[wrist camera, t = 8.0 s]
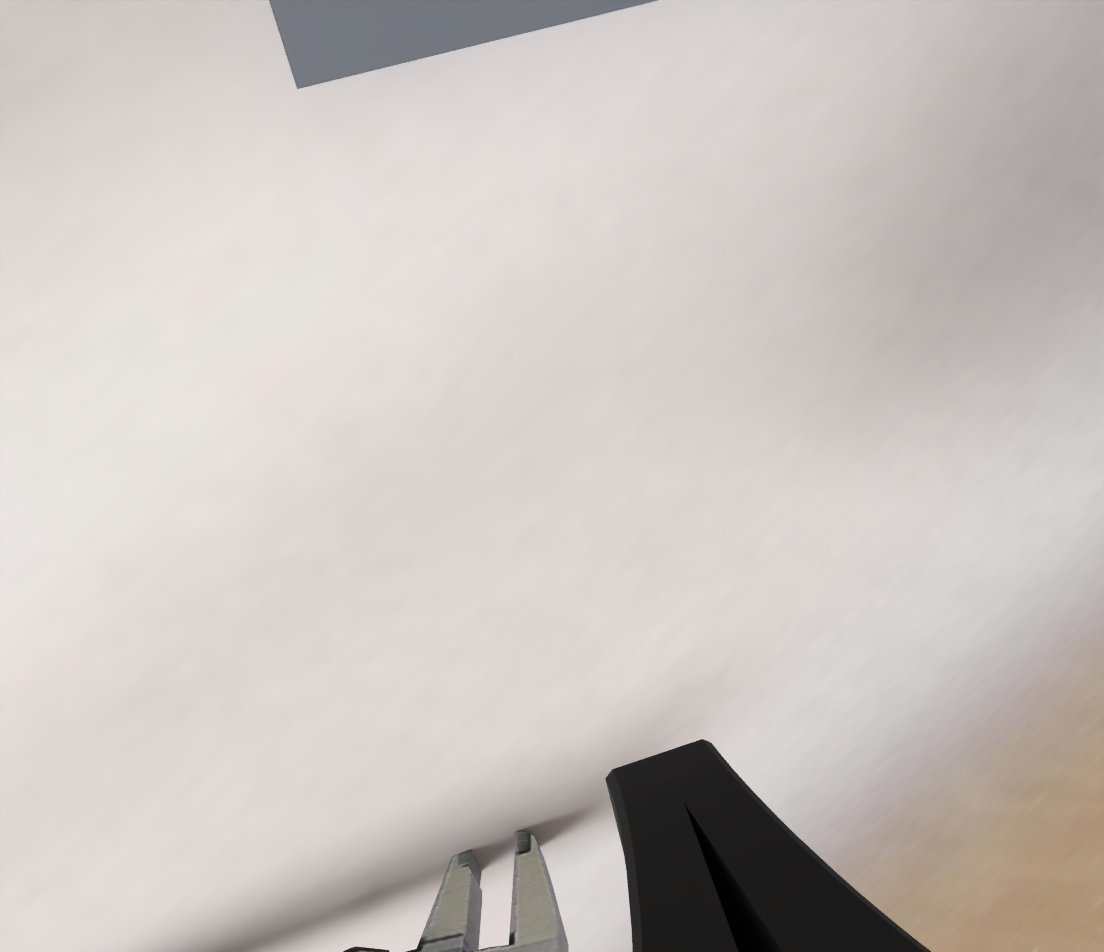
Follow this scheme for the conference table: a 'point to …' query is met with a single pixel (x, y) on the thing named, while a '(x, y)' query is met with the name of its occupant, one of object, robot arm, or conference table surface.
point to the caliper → (459, 902)
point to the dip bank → (408, 29)
